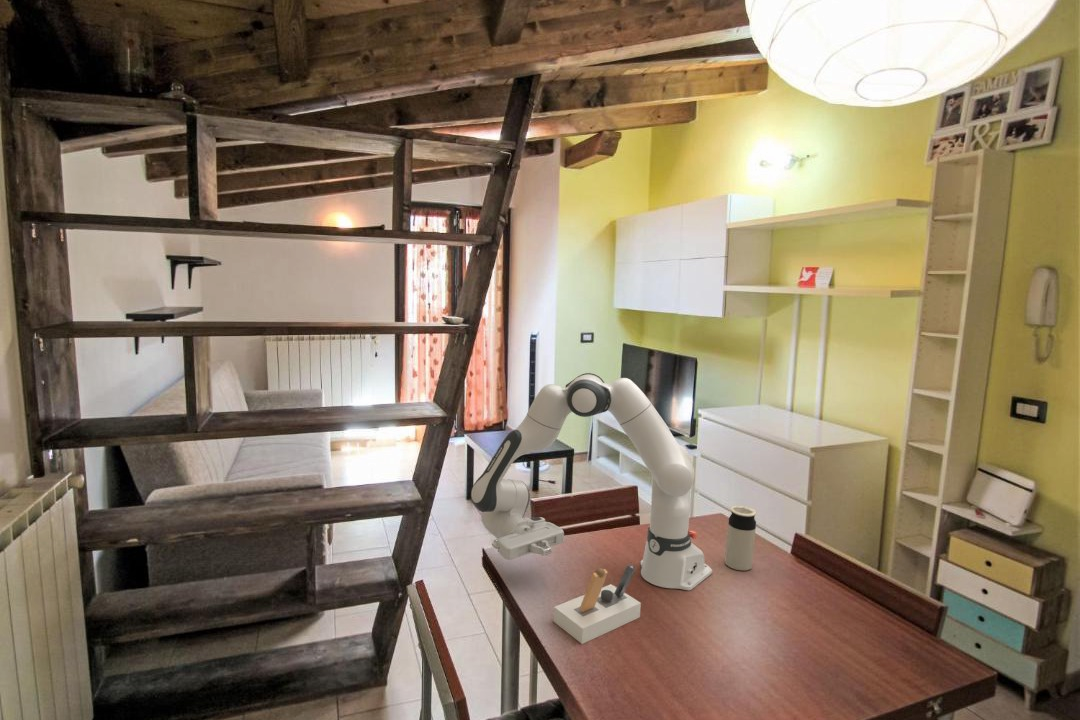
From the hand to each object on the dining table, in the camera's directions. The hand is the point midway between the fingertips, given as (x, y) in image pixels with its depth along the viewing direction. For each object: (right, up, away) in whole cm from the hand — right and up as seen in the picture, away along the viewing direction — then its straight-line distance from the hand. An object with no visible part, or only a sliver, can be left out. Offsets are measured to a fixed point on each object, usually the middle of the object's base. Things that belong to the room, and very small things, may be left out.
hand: (548, 552), depth 158 cm
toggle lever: (+18, -10, -6) cm, 22 cm away
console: (+13, -14, -9) cm, 21 cm away
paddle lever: (+9, -10, -12) cm, 19 cm away
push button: (+15, -10, -8) cm, 20 cm away
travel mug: (+60, -12, +23) cm, 65 cm away
